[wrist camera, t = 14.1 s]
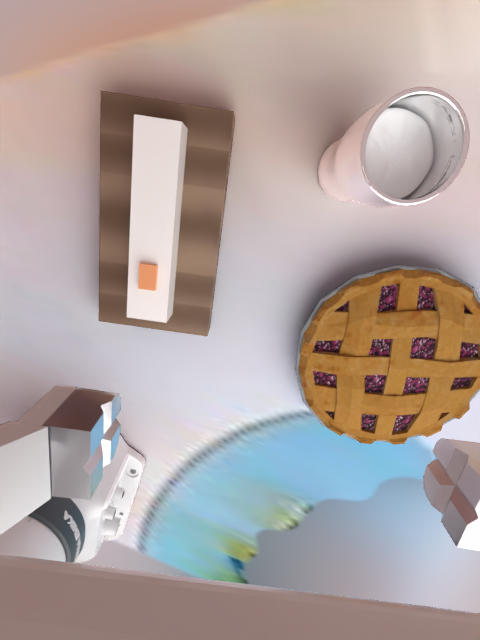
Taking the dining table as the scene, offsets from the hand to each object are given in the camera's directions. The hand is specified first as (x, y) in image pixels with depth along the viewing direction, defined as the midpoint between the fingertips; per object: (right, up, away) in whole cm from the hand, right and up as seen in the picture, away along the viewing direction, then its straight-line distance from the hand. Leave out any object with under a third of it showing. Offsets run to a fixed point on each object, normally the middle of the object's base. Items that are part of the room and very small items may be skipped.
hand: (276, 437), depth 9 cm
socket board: (-9, +13, +29) cm, 33 cm away
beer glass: (+10, +18, +27) cm, 34 cm away
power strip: (-9, +13, +28) cm, 32 cm away
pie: (+16, -1, +33) cm, 37 cm away
